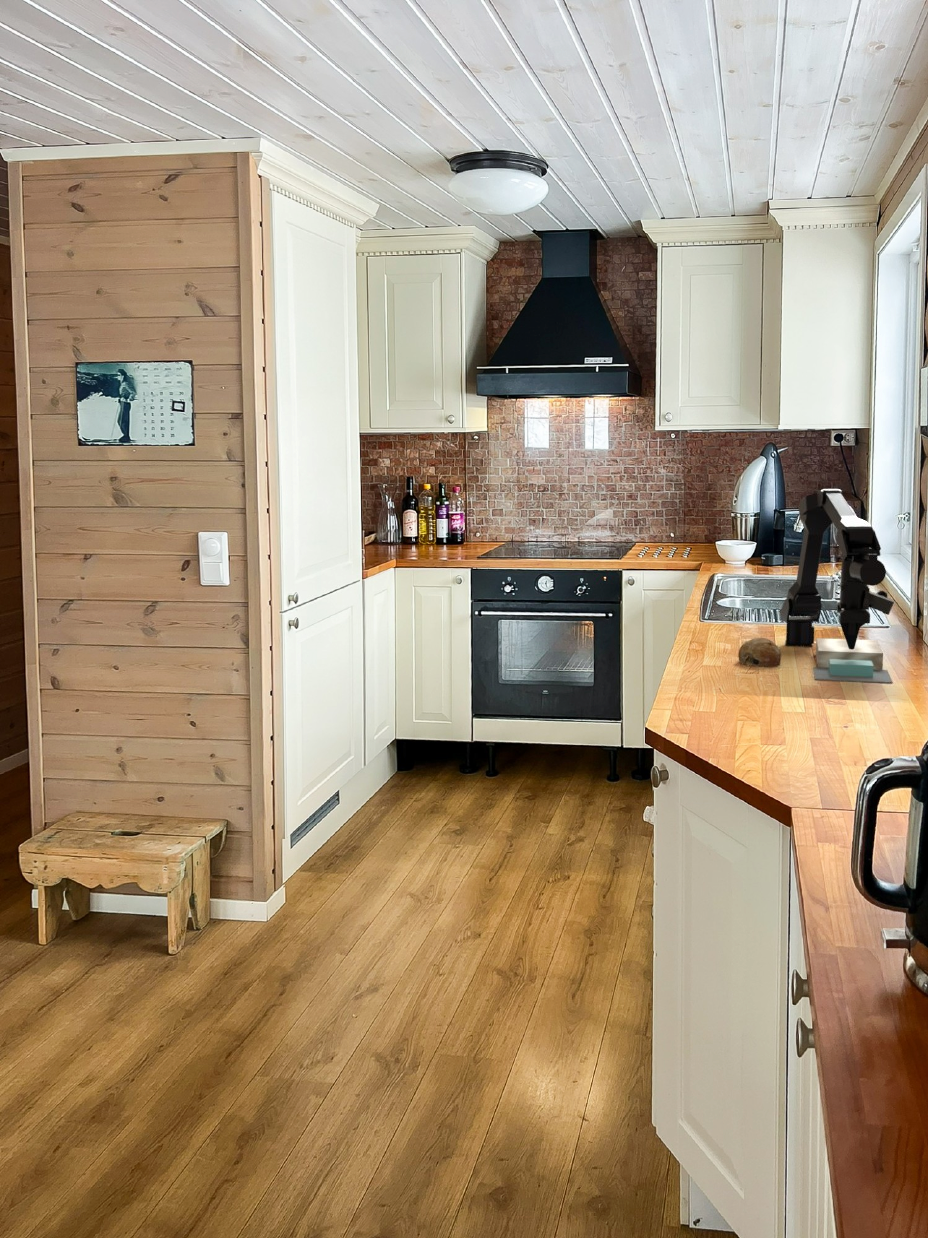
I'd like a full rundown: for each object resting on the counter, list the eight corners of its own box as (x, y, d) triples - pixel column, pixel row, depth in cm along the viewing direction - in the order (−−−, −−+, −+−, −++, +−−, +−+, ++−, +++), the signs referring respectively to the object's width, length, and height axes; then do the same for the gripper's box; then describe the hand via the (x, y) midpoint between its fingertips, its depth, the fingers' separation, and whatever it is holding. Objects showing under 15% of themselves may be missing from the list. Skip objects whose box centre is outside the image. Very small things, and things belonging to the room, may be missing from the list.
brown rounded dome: (735, 679, 272) (732, 651, 268) (745, 654, 280) (742, 626, 276) (777, 682, 268) (775, 654, 264) (786, 657, 275) (784, 629, 271)
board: (817, 668, 265) (818, 650, 265) (815, 654, 283) (816, 638, 282) (882, 670, 262) (883, 653, 261) (876, 656, 279) (877, 640, 278)
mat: (814, 680, 252) (814, 678, 252) (813, 668, 265) (813, 666, 265) (892, 683, 248) (892, 682, 248) (887, 671, 261) (887, 669, 261)
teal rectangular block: (829, 659, 261) (829, 670, 261) (830, 664, 255) (830, 675, 256) (871, 660, 259) (871, 671, 259) (873, 665, 253) (872, 676, 253)
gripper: (896, 586, 248) (892, 657, 250) (888, 576, 265) (885, 643, 268) (841, 585, 251) (838, 655, 253) (838, 575, 268) (835, 642, 271)
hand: (851, 649), depth 261 cm, fingers closed
